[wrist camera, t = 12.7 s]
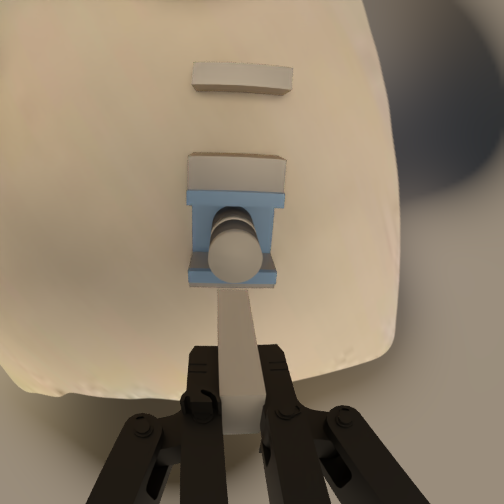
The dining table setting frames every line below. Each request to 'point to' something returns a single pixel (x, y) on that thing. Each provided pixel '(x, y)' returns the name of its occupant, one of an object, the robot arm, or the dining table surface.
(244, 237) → the plug
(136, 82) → the dining table surface
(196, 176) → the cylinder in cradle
